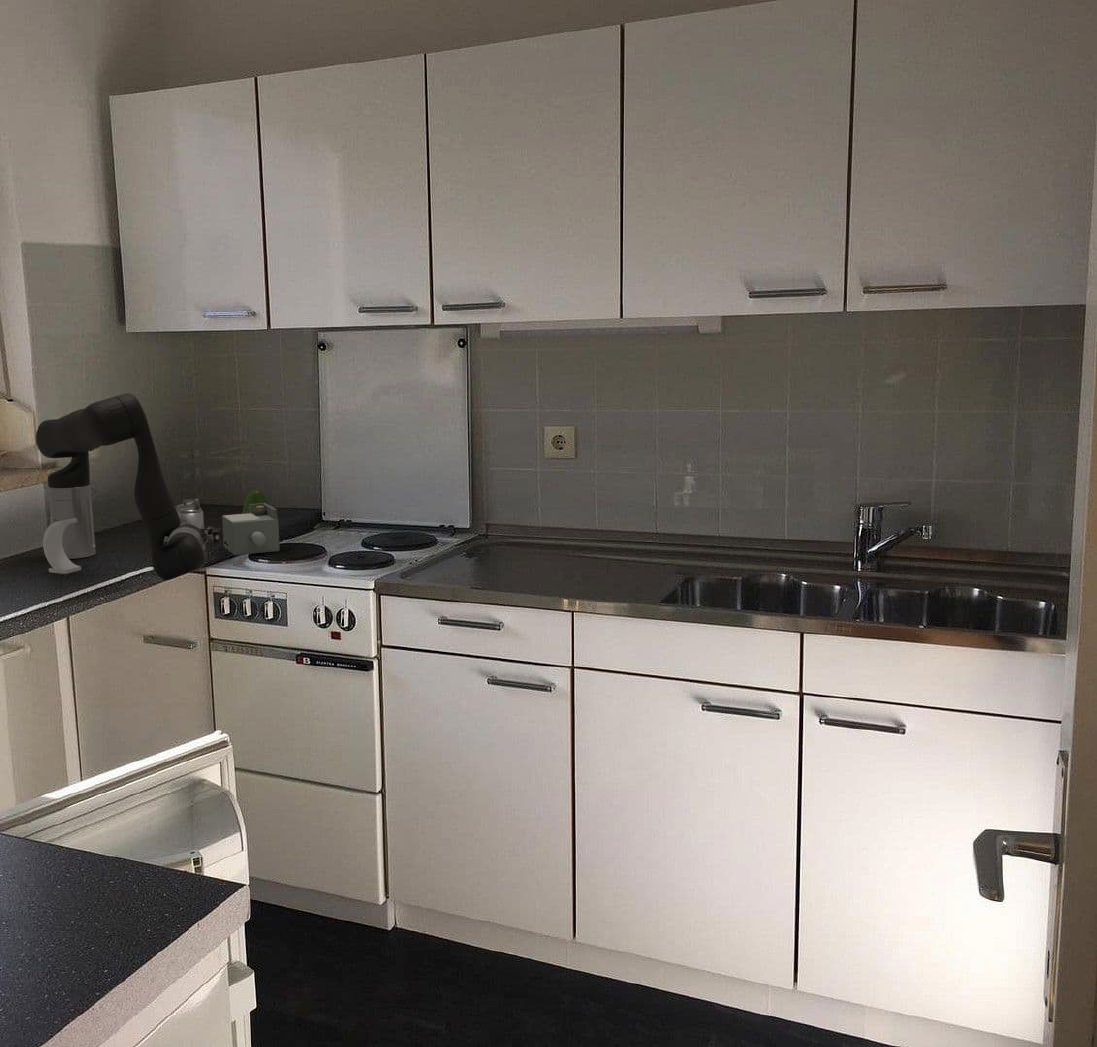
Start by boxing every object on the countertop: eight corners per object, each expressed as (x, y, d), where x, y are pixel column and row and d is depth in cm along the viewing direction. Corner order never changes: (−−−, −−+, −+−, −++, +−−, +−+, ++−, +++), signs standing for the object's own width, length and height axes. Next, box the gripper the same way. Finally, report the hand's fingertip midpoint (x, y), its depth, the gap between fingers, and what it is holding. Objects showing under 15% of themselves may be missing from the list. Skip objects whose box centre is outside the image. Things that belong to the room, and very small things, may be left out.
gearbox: (237, 557, 255) (235, 515, 254) (223, 546, 268) (221, 506, 266) (282, 553, 261) (280, 511, 259) (267, 542, 274) (265, 502, 272)
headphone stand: (65, 574, 238) (60, 521, 236) (45, 571, 241) (40, 519, 239) (81, 569, 243) (77, 518, 240) (61, 567, 245) (57, 516, 243)
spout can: (183, 560, 253) (179, 502, 250) (179, 555, 258) (175, 498, 255) (208, 557, 256) (204, 500, 253) (203, 553, 261) (199, 497, 258)
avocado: (239, 537, 281) (237, 492, 279) (248, 531, 289) (246, 488, 287) (269, 537, 281) (267, 492, 279) (277, 531, 289) (275, 488, 287)
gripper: (217, 525, 240) (221, 514, 256) (151, 528, 237) (159, 516, 253) (219, 558, 242) (223, 544, 257) (153, 561, 238) (161, 547, 254)
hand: (191, 530), depth 255 cm, fingers open, 8 cm apart
